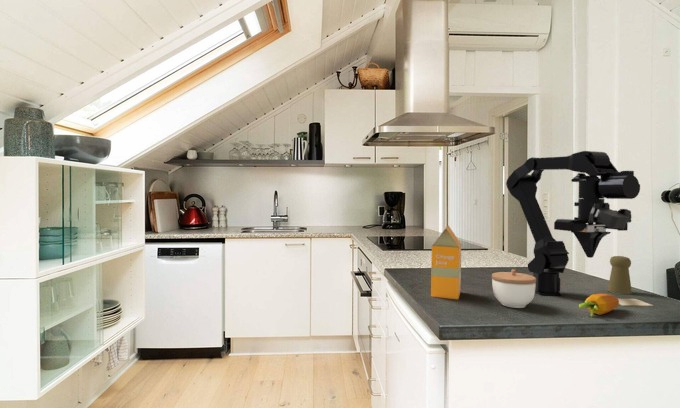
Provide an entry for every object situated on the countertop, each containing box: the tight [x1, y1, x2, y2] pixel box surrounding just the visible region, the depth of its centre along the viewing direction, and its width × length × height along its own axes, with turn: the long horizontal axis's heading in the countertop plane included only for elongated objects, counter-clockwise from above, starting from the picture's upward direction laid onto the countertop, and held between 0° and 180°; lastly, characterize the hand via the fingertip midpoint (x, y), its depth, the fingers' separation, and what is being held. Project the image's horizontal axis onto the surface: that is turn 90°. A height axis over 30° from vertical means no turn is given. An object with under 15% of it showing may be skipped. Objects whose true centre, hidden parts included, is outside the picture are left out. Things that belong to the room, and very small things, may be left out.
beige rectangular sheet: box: [617, 298, 654, 307], centre depth 101 cm, size 8×6×1 cm
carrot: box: [578, 293, 620, 318], centre depth 92 cm, size 5×5×15 cm
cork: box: [607, 255, 633, 295], centre depth 113 cm, size 6×6×11 cm
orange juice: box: [430, 225, 462, 300], centre depth 108 cm, size 8×9×20 cm
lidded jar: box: [491, 269, 536, 309], centre depth 98 cm, size 11×11×9 cm
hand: (589, 257), depth 98 cm, fingers closed
